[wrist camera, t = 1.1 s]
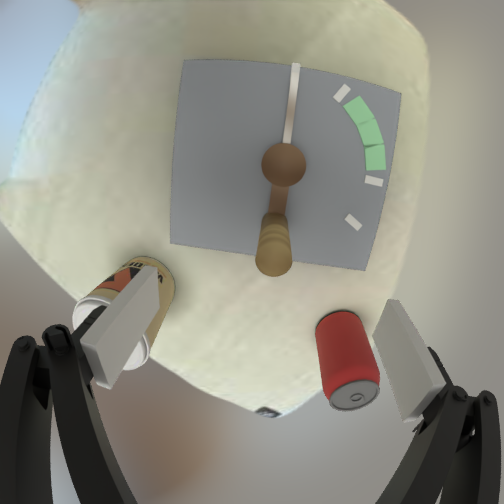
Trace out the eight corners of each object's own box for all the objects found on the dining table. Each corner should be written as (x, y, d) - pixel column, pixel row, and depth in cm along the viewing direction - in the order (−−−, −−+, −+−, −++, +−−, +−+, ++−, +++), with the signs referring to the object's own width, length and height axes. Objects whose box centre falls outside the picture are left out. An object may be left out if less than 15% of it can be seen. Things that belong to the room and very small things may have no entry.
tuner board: (190, 62, 23) (183, 56, 21) (393, 93, 22) (402, 90, 20) (176, 237, 31) (169, 244, 29) (360, 263, 31) (365, 271, 28)
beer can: (331, 352, 37) (343, 419, 26) (304, 327, 35) (312, 399, 24) (369, 328, 34) (393, 394, 23) (345, 300, 33) (368, 369, 22)
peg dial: (273, 71, 21) (272, 41, 13) (316, 78, 21) (334, 51, 13) (253, 232, 28) (243, 272, 20) (292, 238, 27) (298, 280, 20)
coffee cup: (184, 259, 32) (144, 319, 21) (179, 318, 36) (148, 382, 25) (118, 242, 32) (63, 289, 21) (120, 300, 36) (78, 354, 25)
